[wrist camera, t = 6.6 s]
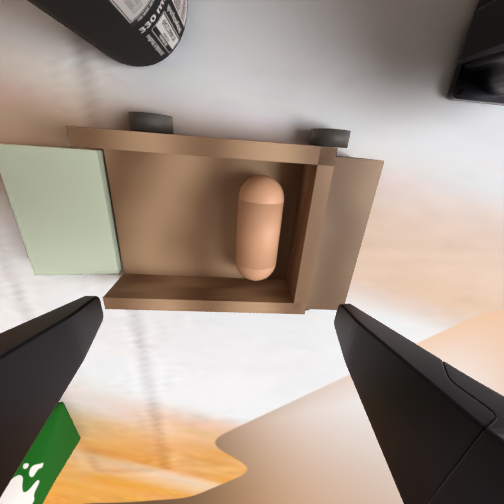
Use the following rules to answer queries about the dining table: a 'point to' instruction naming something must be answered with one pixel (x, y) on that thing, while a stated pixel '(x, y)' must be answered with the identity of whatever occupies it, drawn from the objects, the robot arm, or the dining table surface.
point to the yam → (258, 226)
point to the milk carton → (43, 460)
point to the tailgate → (62, 208)
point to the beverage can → (123, 26)
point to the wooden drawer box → (229, 217)
